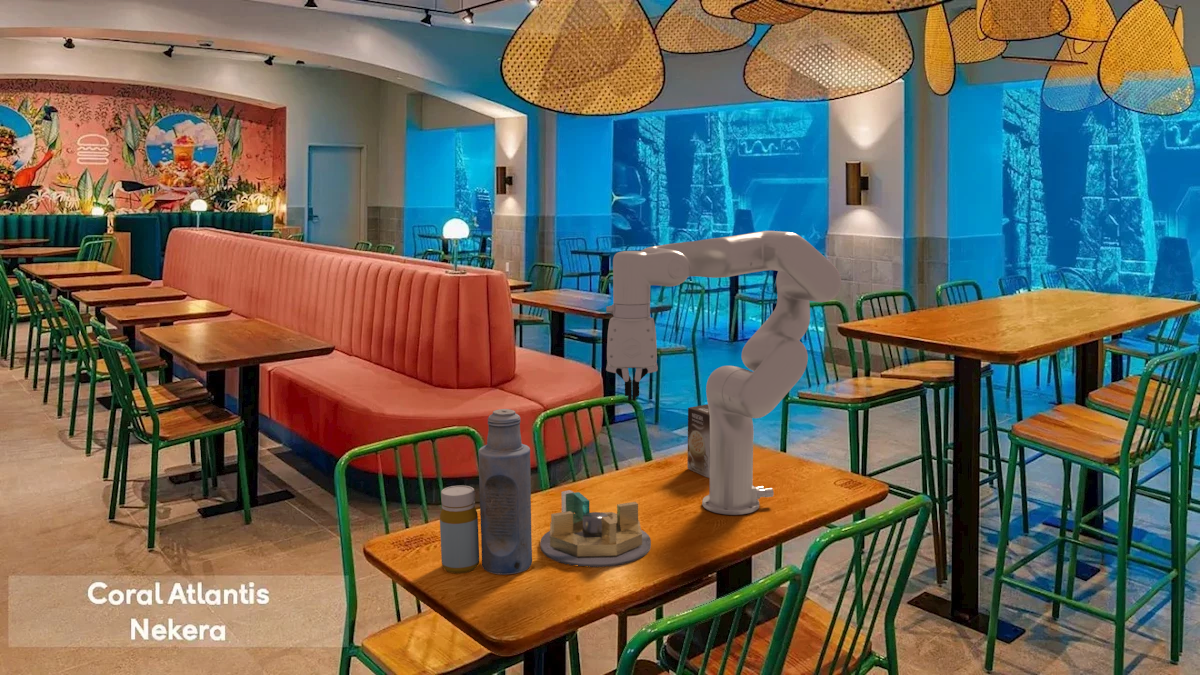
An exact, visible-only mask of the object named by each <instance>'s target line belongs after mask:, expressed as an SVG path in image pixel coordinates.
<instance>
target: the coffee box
mask: <svg viewBox="0 0 1200 675" xmlns="http://www.w3.org/2000/svg"><path fill="white" fill-rule="evenodd" d="M686 468H687V469H688V470H690V471H693V472H694V473H697V474H698V475H701V476H703V477H705V478H708V479H710V415H709V407H708V403H707V404H702V405H696V406H690V407H688V408H687V467H686Z"/></svg>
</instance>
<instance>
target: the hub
mask: <svg viewBox="0 0 1200 675" xmlns="http://www.w3.org/2000/svg"><path fill="white" fill-rule="evenodd" d="M574 493H575V492H574V491H573V490H570V489H568V490H564V491H561V512H568V511H571V512H572V513H573V514H575V513H574ZM607 516H608V515H607V514H604V513H601V511H600V512H599V511H598V512H597V511H594V512H590V513H587V514H585V515H583V531H580V532H578V533H575V534H577V535H580V536H583V537H602V517H607ZM641 531H642V545H640V546H638V547H635V548H633V549H631V550H628V551H626V552H624V553H622V554H619V555H617V556H575V555H572V554H569V553H567V552H564V551H561V550H558V549H555V548H553V547H550V530H549V531H547V532H546V533H544V535H543V536H541V538H540V551H541V552H542V553H543V555H544V556H545V555H546V556H545V557H547V558H549V559H550V560H552V561H554V562H557V563H561V564H563V563H564V564H563V565H567V564H569V565H568V566H573V565H578V566H577V567H580V566H588V567H587V568H607V567H606V566H608V567H615V566H620V565H624V564H625V563H626V564H630V563H632V562H635V561H637V560H639V559H641V558H643V557H645V556H646V555H647V554H648V553H649V552H650V550H651V545H652V544H651V543H652V540H651V537H650V535H649V534H648V533H647V532H646V531H645V530H642V529H641ZM589 566H590V567H589Z"/></svg>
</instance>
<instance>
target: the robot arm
mask: <svg viewBox="0 0 1200 675" xmlns="http://www.w3.org/2000/svg"><path fill="white" fill-rule="evenodd" d="M763 271H777V274H776V279H775V281H776V283H775V284H776V292H777V293H776V294H777V300H776V306H775V308H774V310H773V311H772V313H771V314H770V315H769V317H768V318H767V319H766V320H765V321H764V322H763V323H762V324H761V326H760V327H759V328H758V329H757V330H756V331H755V333H753V334H752V336H750V338H749V339H748V340H747V342H746V343H745V344H744V346H743V348H742V351H741V360H742V363H743V364H744V366H745V367H746V368H747V369H746V368H742V367H739V366H736V365H735V366H734V365H722V366H720V367H718V368H716V369H714V370H713V371H712V372H711V373H710V375H709V376H708V378H707V382H706V387H705V389H706V390H705V392H706V393H705V394H706V400H707V404H708V407H709V415H710V477H709V494H708V495H705V496H704V497H703V498H702V502H701V503H702V504H701V505H702V506H703V508H704V509H705V510H707V511H709V512H712V513H715V514H720V515H728V516H738V515H746V514H747V515H748V514H752V513H754V512H756V511H757V510H759V508H760V501H759V500H760V499H761V498H771V497H774V494H775V493H774V489H773V487H769V488H764V486H763V485H761V486H754V485H753V484H754V483H753V482H754V481H753V478H754V476H753V470H754V468H753V467H754V460H753V459H754V430H755V429H754V421H753V419H761V418H763V417H765V416H767V415H768V414H769V413H771V412H772V411H773V410H774V409H775V408H777V406H778V404H780V402H781V401H782V400H783V399H784V398H785V397H786V395H788V393H789V392H790V391H791V390H792V388H794V386H795V385H796V384H797V383H798V382H799V380H800V379H801V378H802V377H803V375H804V373H805V371H806V369H807V366H808V365H807V364H808V361H809V360H808V359H809V356H808V350H807V349H806V346H805V345H804V343H803V342H801V341H800V340H801V339H802V338H803V336H805V334H806V333H807V332H808V329H809V326H810V322H811V321H810V320H811V306H810V302H816V303H826V302H830V301H831V300H833V299H835V298H837V296H838V295H839V293H840V291H841V289H842V288H841V287H842V276H841V274H840V272H839V270H838V268H837V267H836V266H835V265H834V263H832V262H831V261H830V260H829V259H828V258H827V257H825V256H824V255H823V254H822V253H821V252H820V250H818V249H816V247H815V246H813V245H812V244H811V243H810V242H809V241H807V240H806V239H805V238H803V237H802V236H801V235H799V234H797V233H795V232H790V231H781V230H779V231H778V230H776V231H775V230H762V231H756V232H748V233H743V234H737V235H730V236H723V237H714V238H707V239H706V238H705V239H699V240H693V241H683V242H676V243H675V242H673V243H668V244H662V245H661V244H660V245H655V246H649V247H646V248H643V249H641V250H625V251H624V250H623V251H619V252H616V253H615V254H614V256H613V259H612V277H613V278H612V280H613V281H612V282H613V284H612V286H613V290H612V292H613V293H612V294H613V295H612V296H613V298H612V300H613V302H612V303H613V304H612V305H609V306H606V313H607V314H608V313H609V314H611V315H613V317H611V318H609V322H608V329H607V338H606V339H607V341H606V342H607V343H606V360H607V361H606V368H605V371H607V372H609V373H613V374H616V375H618V376H619V377H620V379H622V380H623V382H624V397H627V401H628V402H631V401H634V402H635V401H637V397H639V396H640V381H641V380H642V379H643V378H644V377H645V376H646V375H647V374H652V373H655V372H658V370H659V369H658V368H659V367H658V363H657V360H658V356H657V355H658V354H657V352H658V349H657V346H658V345H657V331H656V325H655V324H656V323H655V319H654V318H653V317H651V286H660V287H661V286H662V287H675V286H679V285H681V284H683V283H684V282H685V281H686V280H687V279H688V278H689V277H699V278H700V277H702V278H712V279H717V278H718V279H719V278H729V277H735V276H740V275H744V274H751V273H759V272H763ZM629 369H635V373H634V374H635V375H634V376H633V377H632V378H633V379H632V378H631V376H630V372H629Z"/></svg>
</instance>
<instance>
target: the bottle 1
mask: <svg viewBox="0 0 1200 675" xmlns="http://www.w3.org/2000/svg"><path fill="white" fill-rule="evenodd" d="M475 496H476V494H475V488H473V487H472V486H469V485H451V486H448V487H444V488H443V489H442V490H441V491H440V498H441V500H440V501H441V511H440V514H439V527H440V528H439V530H440V532H439V533H440V552H441V553H440V554H441V557H440V558H441V567H442V568H443V569H444V570H445V571H446V572H448V573H451V574H466V573H470V572H472V571H474V570H476V569H477V567H478V566H479V565H480V542H479V541H480V539H479V538H480V537H479V516H478V511H477V508H476V506H475V505H476V504H475V503H476V502H475V501H476V497H475Z"/></svg>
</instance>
